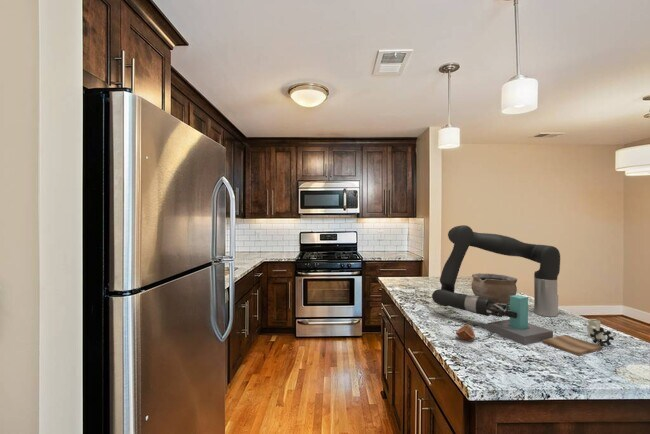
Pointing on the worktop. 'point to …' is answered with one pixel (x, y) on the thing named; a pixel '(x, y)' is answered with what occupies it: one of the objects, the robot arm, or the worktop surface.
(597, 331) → the valve
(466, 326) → the fruit slice
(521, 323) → the plug
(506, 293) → the ceramic bowl
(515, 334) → the grey square socket plate
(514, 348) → the worktop surface
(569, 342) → the board
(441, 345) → the worktop surface
